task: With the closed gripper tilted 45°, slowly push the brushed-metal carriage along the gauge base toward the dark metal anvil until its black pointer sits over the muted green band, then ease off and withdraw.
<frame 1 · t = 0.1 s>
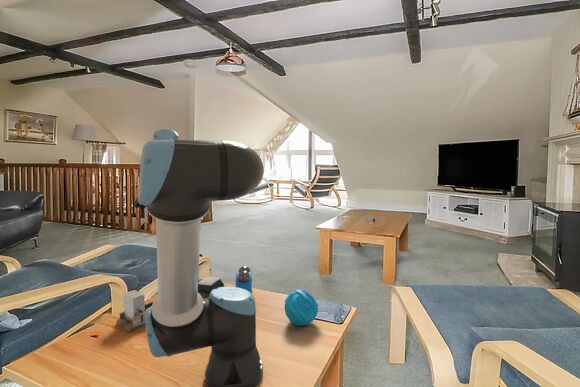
hand: (166, 218, 123), 36 cm above the table, tool tilted 35°, fingers open, 13 cm apart
blue round piece: (300, 323, 116), on the table
alarm clock: (244, 306, 131), on the table
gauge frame: (151, 317, 121), on the table
miniature car: (207, 299, 137), on the table
carriage: (135, 307, 115), point 6 cm above the table, slide at 0.0 cm
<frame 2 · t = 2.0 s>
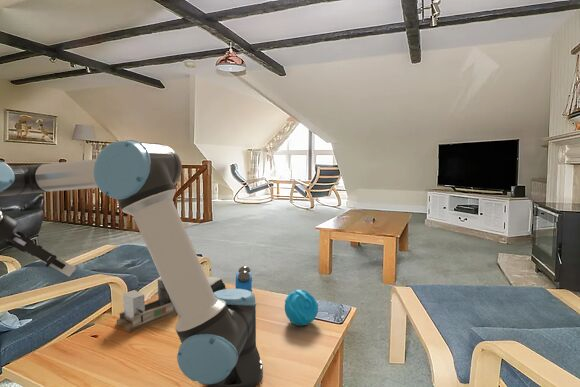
hand: (64, 268, 98), 25 cm above the table, tool tilted 45°, fingers open, 11 cm apart
nothing on the table moved.
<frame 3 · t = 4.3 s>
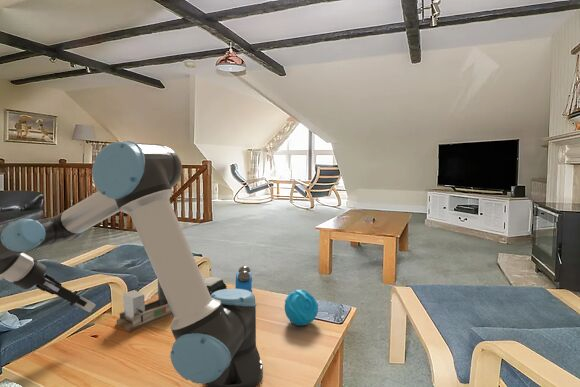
hand: (91, 308, 106), 10 cm above the table, tool tilted 45°, fingers closed
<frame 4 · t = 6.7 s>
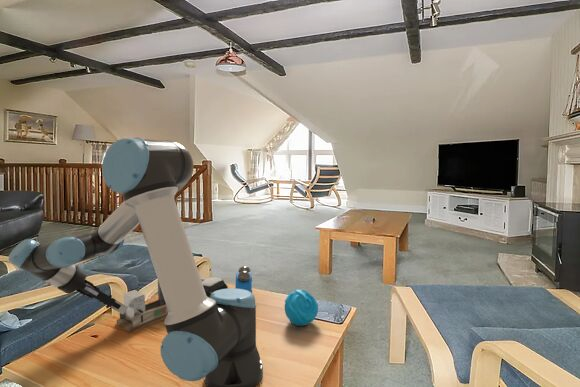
hand: (124, 310, 113), 6 cm above the table, tool tilted 45°, fingers closed
carriage: (135, 307, 115), point 6 cm above the table, slide at 0.1 cm, touching gripper
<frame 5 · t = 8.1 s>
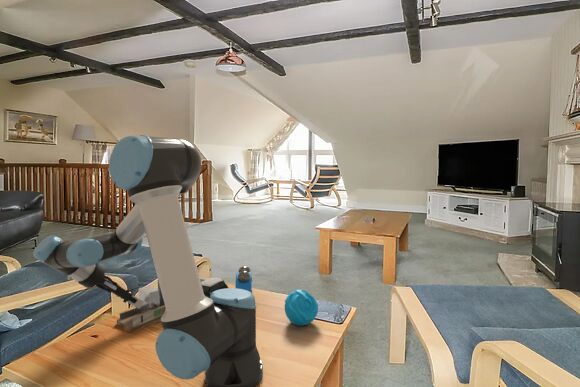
hand: (140, 304, 118), 6 cm above the table, tool tilted 45°, fingers closed
carriage: (150, 301, 120), point 6 cm above the table, slide at 5.6 cm, touching gripper
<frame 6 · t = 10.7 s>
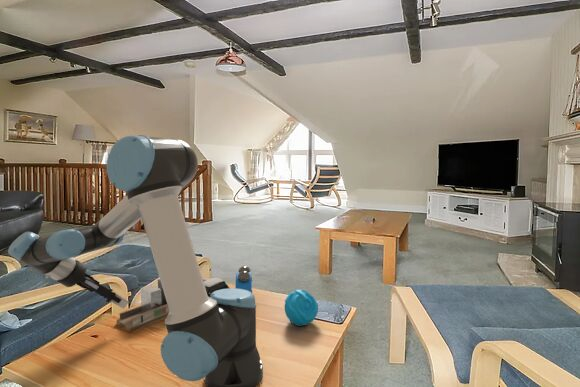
hand: (125, 304, 113), 8 cm above the table, tool tilted 45°, fingers closed
carriage: (152, 301, 120), point 6 cm above the table, slide at 6.4 cm
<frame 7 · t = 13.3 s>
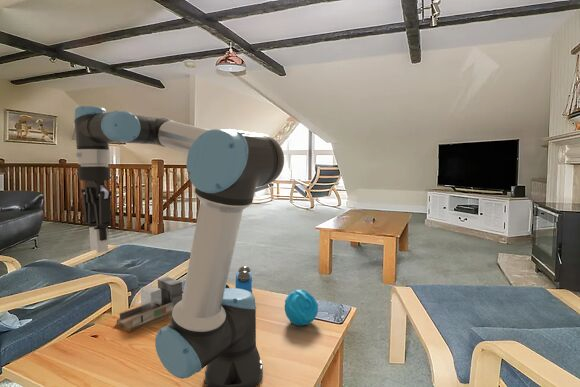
hand: (99, 250, 91), 32 cm above the table, tool pointing down, fingers open, 3 cm apart
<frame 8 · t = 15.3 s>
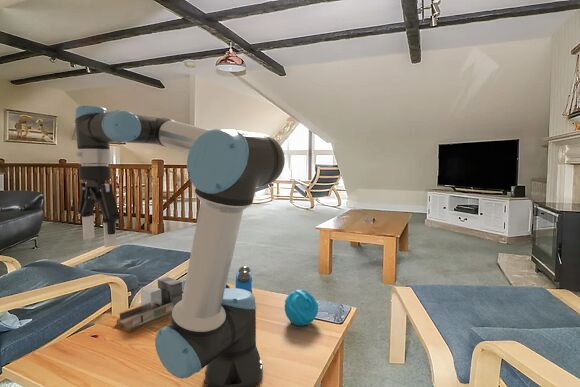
hand: (99, 242, 91), 35 cm above the table, tool pointing down, fingers open, 13 cm apart
at the end: carriage slide at 6.4 cm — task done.
